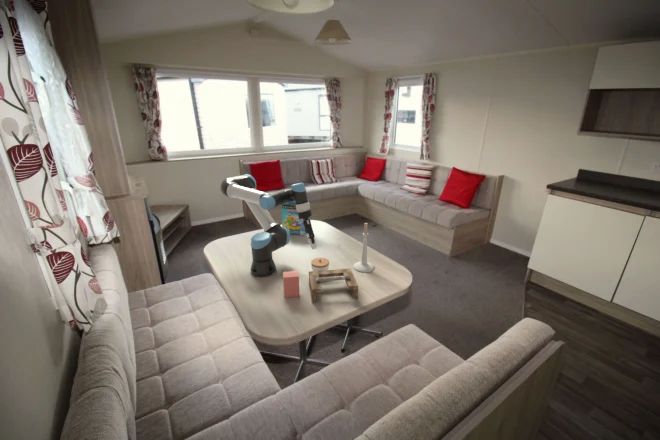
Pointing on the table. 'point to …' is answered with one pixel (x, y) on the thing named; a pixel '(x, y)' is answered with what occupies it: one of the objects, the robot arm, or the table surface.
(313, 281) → the wooden frame with rod
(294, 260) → the table surface
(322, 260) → the lidded jar
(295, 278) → the salmon red channel block
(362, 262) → the candlestick
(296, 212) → the game box
